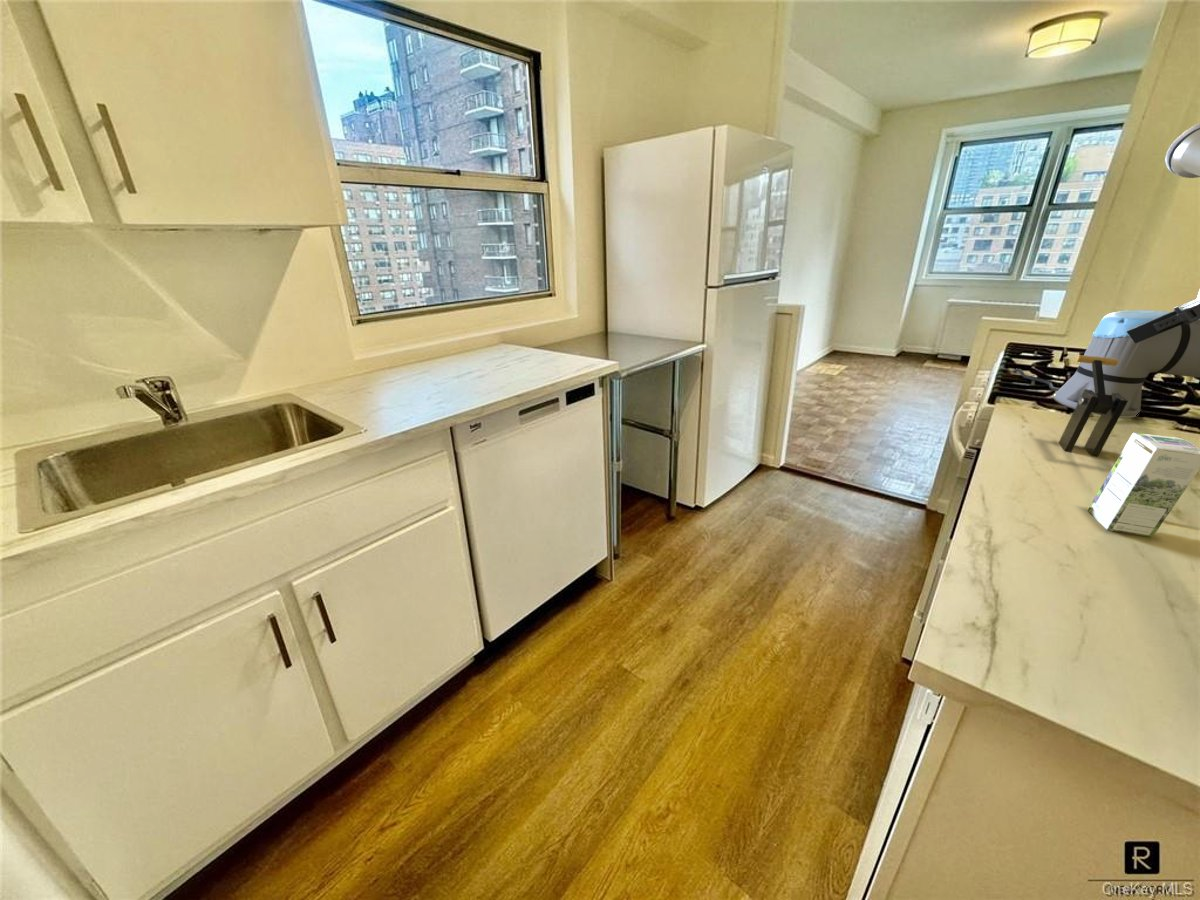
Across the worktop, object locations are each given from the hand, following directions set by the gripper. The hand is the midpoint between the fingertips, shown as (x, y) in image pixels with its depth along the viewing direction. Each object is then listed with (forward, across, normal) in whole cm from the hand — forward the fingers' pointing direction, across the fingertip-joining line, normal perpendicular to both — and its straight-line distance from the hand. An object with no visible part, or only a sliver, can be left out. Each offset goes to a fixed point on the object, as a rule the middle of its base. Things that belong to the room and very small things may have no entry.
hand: (1131, 336), depth 92 cm
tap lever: (+8, -5, -6) cm, 11 cm away
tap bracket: (+15, -10, -16) cm, 24 cm away
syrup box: (+10, -36, -22) cm, 43 cm away
